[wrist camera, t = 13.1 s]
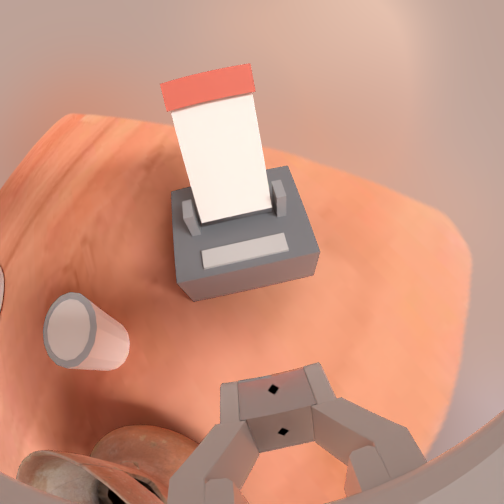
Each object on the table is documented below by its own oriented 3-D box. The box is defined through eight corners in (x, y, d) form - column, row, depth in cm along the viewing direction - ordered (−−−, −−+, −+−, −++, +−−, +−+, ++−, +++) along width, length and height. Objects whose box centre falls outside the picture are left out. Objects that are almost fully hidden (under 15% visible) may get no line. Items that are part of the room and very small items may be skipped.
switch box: (313, 275, 27) (324, 234, 20) (193, 301, 27) (164, 269, 20) (287, 196, 32) (287, 145, 25) (184, 218, 31) (162, 173, 25)
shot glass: (96, 385, 23) (52, 378, 17) (77, 329, 26) (36, 311, 20) (145, 360, 24) (106, 349, 18) (122, 303, 27) (85, 278, 21)
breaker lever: (276, 217, 23) (250, 63, 16) (201, 233, 23) (160, 84, 16) (270, 204, 25) (246, 66, 18) (202, 219, 25) (165, 84, 18)
